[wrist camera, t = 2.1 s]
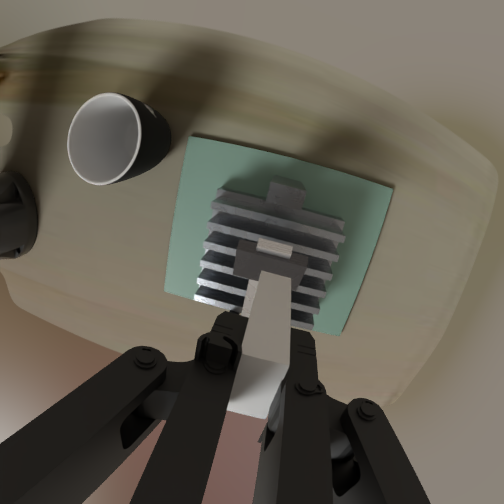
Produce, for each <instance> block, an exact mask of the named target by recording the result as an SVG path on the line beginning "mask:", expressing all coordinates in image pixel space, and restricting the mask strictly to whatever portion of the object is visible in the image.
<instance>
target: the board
mask: <svg viewBox="0 0 504 504" xmlns="http://www.w3.org/2000/svg"><path fill="white" fill-rule="evenodd" d="M275 175H277V176H281V177H285V178H289V179H293V180H296V181H300V182H302V184H303V185H304V187H305V189H306V191H307V193H306V196H305V200H304V203H303V207H304V208H308V209H312V210H315V211H319V212H322V213H326V214H329V215H333V216H336V217H340V218H342V219H343V220H344V221H345V224H344V227H343V230H342V231H343V233H344V234H345V236H346V238H345V241H344V243H341V242H339V243H338V246H337V249H336V250H337V252H338V254H339V259H338V262H334V261H332V264H331V270H332V273H333V276H332V279H331V281H330V280H326V281H325V288H326V292H327V293H326V296H325V298H321V297H320V298H319V304H320V312H319V314H318V315H317V314H313V319H314V327H313V329H312V330H313V331H317V332H322V333H327V334H331V335H336V336H340V334H341V331H342V329H343V327H344V325H345V322H346V320H347V318H348V315H349V313H350V311H351V308H352V306H353V303H354V301H355V299H356V296H357V294H358V291H359V289H360V286H361V284H362V281H363V278H364V276H365V273H366V270H367V268H368V265H369V262H370V260H371V257H372V254H373V251H374V248H375V245H376V243H377V240H378V237H379V234H380V231H381V228H382V225H383V221H384V218H385V215H386V212H387V209H388V205H389V202H390V199H391V195H392V192H393V189H391V188H389V187H386V186H383V185H380V184H377V183H374V182H371V181H368V180H365V179H362V178H359V177H356V176H353V175H350V174H346V173H343V172H340V171H337V170H333V169H330V168H327V167H323V166H320V165H316V164H313V163H309V162H305V161H302V160H298V159H294V158H290V157H286V156H282V155H278V154H274V153H270V152H266V151H262V150H257V149H253V148H248V147H244V146H239V145H234V144H230V143H225V142H219V141H214V140H209V139H203V138H198V137H192V136H189V138H188V143H187V148H186V153H185V158H184V163H183V168H182V173H181V178H180V184H179V189H178V195H177V201H176V207H175V213H174V219H173V226H172V232H171V239H170V246H169V254H168V261H167V269H166V278H165V287H164V291H165V292H169V293H172V294H175V295H179V296H182V297H185V298H189V299H192V300H194V295H195V293H196V291H197V290H198V288H199V284H196V283H197V277H198V276H199V275H200V273H201V272H202V267H201V266H199V265H200V260H201V259H202V257H203V256H204V255H205V248H203V243H204V240H205V239H206V238H207V237H208V234H209V229H206V227H207V222H208V221H209V220H210V219H211V218H212V213H213V209H210V207H211V202H212V201H213V200H215V198H216V194H217V189H218V188H220V187H224V188H229V189H233V190H237V191H241V192H246V193H250V194H254V195H258V196H262V197H266V198H267V194H268V190H269V186H270V182H271V180H272V179H273V177H274V176H275ZM195 301H196V300H195ZM202 303H203V302H202ZM220 308H221V307H220ZM308 330H309V329H308Z"/></svg>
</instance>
